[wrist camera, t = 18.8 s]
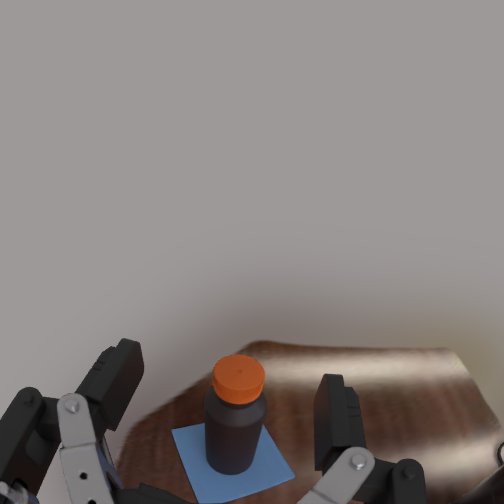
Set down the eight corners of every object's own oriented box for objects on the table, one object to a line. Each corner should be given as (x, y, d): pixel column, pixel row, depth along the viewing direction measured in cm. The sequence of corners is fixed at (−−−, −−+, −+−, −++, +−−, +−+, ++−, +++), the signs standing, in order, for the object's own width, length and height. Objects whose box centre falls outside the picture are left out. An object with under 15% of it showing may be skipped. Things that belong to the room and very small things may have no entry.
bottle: (214, 481, 31) (215, 406, 22) (200, 443, 36) (195, 353, 28) (260, 468, 33) (287, 388, 25) (243, 433, 39) (258, 342, 31)
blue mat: (254, 410, 44) (254, 409, 44) (295, 477, 32) (295, 476, 32) (171, 430, 38) (171, 429, 38) (201, 508, 27) (201, 507, 27)
